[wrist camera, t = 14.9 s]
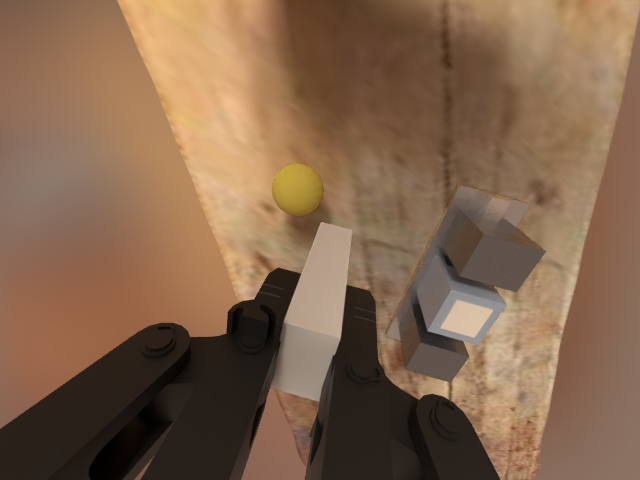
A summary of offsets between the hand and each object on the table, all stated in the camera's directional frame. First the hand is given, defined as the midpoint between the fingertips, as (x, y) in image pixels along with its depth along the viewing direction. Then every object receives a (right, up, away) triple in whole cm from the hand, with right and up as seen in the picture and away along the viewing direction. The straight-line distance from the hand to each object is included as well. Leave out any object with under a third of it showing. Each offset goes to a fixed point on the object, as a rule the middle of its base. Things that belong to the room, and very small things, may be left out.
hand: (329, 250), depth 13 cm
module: (+20, -6, +31) cm, 38 cm away
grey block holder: (+20, -6, +32) cm, 39 cm away
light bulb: (-2, +10, +28) cm, 30 cm away
